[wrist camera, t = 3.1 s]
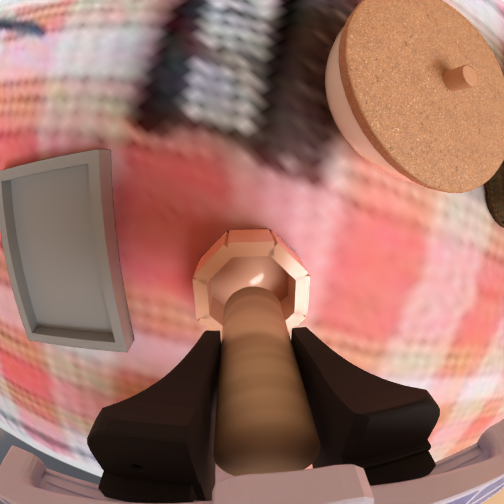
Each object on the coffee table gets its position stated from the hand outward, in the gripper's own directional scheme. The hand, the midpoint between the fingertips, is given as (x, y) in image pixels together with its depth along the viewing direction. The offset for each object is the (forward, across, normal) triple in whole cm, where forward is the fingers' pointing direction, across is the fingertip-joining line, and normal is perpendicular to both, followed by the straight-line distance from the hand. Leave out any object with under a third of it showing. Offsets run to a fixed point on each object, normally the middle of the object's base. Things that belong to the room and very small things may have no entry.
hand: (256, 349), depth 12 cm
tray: (+8, +14, -2) cm, 16 cm away
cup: (+8, 0, 0) cm, 8 cm away
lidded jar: (+8, -9, -12) cm, 17 cm away
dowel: (+3, 0, 0) cm, 3 cm away
